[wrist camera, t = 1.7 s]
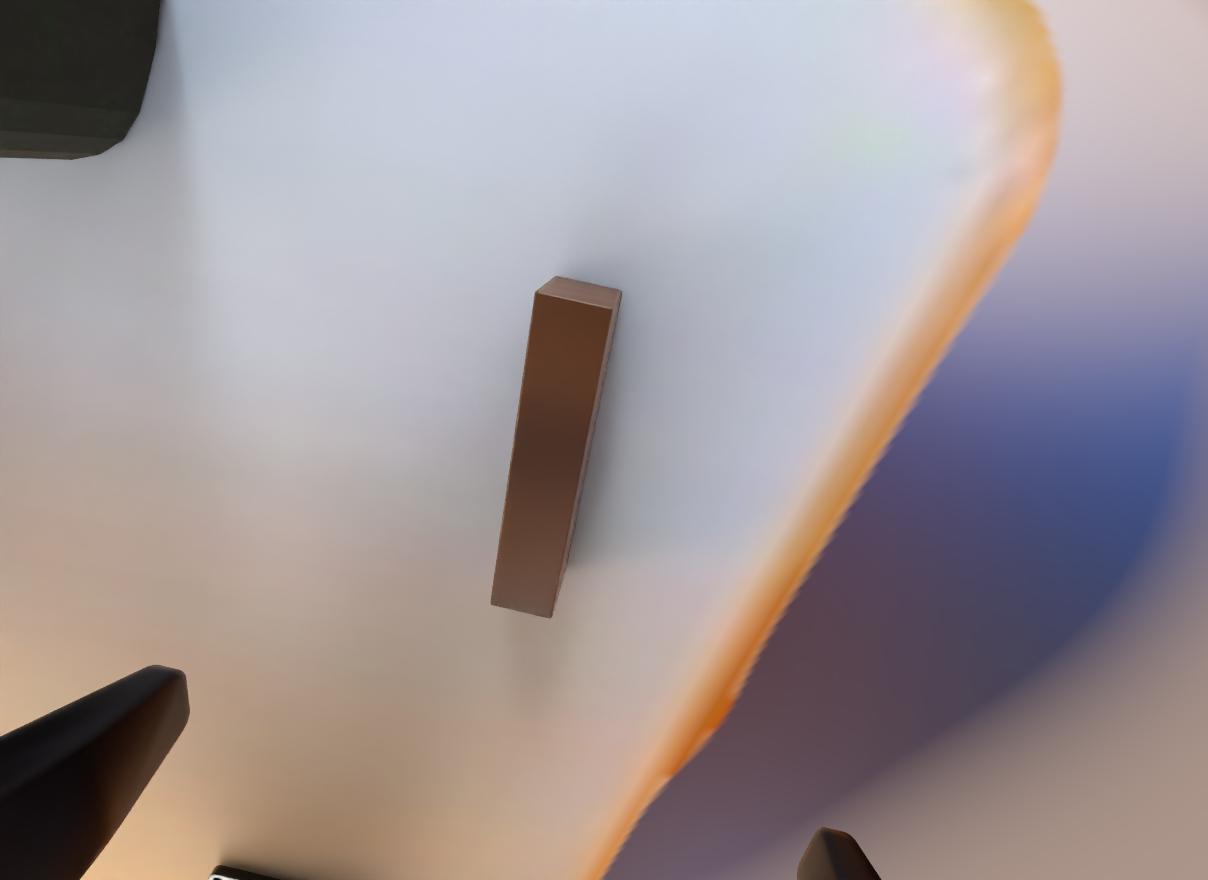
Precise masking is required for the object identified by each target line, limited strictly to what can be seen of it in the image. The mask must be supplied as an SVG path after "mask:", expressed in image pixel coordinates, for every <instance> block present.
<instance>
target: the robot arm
mask: <svg viewBox="0 0 1208 880" xmlns="http://www.w3.org/2000/svg"><path fill="white" fill-rule="evenodd" d="M189 713H190V707H189V698H188V689H187V680H186V675H185V674H184V673H183V671H181V670H178V669H174V668H170V667H166V666H162V665H152V666H148V667H146V668H143V669H141V670H139V671H137V672H135V673H133V674H131V675H129V676H127V677H124V678H122V679H120V680H118V681H116V682H114V683H112V684H110V685H108V686H106V687H103V688H101V689H99V690H97V691H95V692H93V693H91V694H89V695H87V696H85V697H82V698H80V699H78V700H76V701H74V702H72V703H70V704H68V705H66V706H64V707H61V708H59V709H57V710H55V711H53V712H51V713H49V714H47V715H45V716H43V717H40V718H38V719H36V720H34V721H32V722H30V723H28V724H26V725H24V726H22V727H20V728H17V729H15V730H13V731H11V732H9V733H7V734H5V735H3V736H1V737H0V880H80V879H81V877H82V876H83V875H84V874H85V872H86V871H87V870H88V868H89V867H90V866H91V865H92V863H93V862H94V861H95V859H96V858H97V857H98V856H99V854H100V853H101V852H102V850H103V849H104V848H105V846H106V845H107V844H108V842H109V841H110V839H111V838H112V837H113V835H114V834H115V832H116V831H117V829H118V828H119V827H120V825H121V824H122V822H123V821H124V819H125V818H126V816H127V815H128V813H129V812H130V810H131V809H132V807H133V806H134V804H135V802H136V801H137V799H138V798H139V796H140V795H141V793H142V792H143V790H144V789H145V787H146V786H147V784H148V783H149V781H150V780H151V778H152V777H153V775H154V774H155V772H156V771H157V769H158V768H159V766H160V765H161V763H162V762H163V760H164V759H165V757H166V756H167V754H168V753H169V751H170V750H171V748H172V747H173V745H174V744H175V742H176V740H177V739H178V737H179V736H180V734H181V733H182V731H183V730H184V728H185V726H186V724H187V721H188V718H189ZM209 880H280V879H276V878H272V877H268V876H264V875H260V874H256V873H252V872H248V871H244V870H240V869H235V868H231V867H227V866H222V865H219V866H216V867H215V868H214V870H213V871H212V873H211V874H210V876H209ZM797 880H881V878H880V877H879V875H878V874H877V872H876V871H875V869H874V868H873V866H872V865H871V863H870V862H869V860H868V859H867V857H866V856H865V854H864V853H863V851H862V850H861V848H860V847H859V845H858V844H857V842H856V841H855V839H853V837H852V836H850V835H849V834H847V833H845V832H841V831H837V830H833V829H829V828H825V827H822V828H820V829H818V830H817V832H816V833H815V835H814V836H813V838H812V840H811V842H810V844H809V846H808V848H807V850H806V851H805V853H804V855H803V857H802V859H801V861H800V863H799V867H798V873H797Z"/></svg>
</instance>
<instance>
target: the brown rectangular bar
mask: <svg viewBox="0 0 1208 880" xmlns="http://www.w3.org/2000/svg"><path fill="white" fill-rule="evenodd" d="M621 294H622V291H621V290H618V289H614V288H609V287H604V286H600V285H595V284H591V283H586V282H581V281H577V280H572V279H568V278H563V277H558V276H555V277H554V278H552V279H551V280H550V281H548V282H547V283H546V284H545V285H543V286H542V287H541V288H540V289H538V290H537V291H536V292H535V297H534V303H533V310H532V317H531V324H530V331H529V338H528V345H527V352H526V359H525V366H524V373H523V380H522V387H521V394H520V401H519V408H518V415H517V421H516V428H515V435H514V442H513V449H512V456H511V463H510V470H509V477H508V484H507V491H506V498H505V505H504V512H503V519H502V526H501V533H500V539H499V546H498V553H497V560H496V567H495V574H494V581H493V588H492V595H491V602H490V603H491V605H494V606H499V607H503V608H507V609H512V610H516V611H520V612H524V613H529V614H533V615H537V616H542V617H546V618H551V617H552V615H553V611H554V608H555V604H556V601H557V598H558V594H559V591H560V587H561V584H562V580H563V577H564V573H565V570H566V565H567V560H568V555H569V550H570V546H571V541H572V536H573V531H574V526H575V521H576V516H577V511H578V506H579V501H580V496H581V491H582V486H583V482H584V477H585V472H586V467H587V462H588V457H589V452H590V447H591V442H592V437H593V432H594V427H595V422H596V418H597V413H598V408H599V403H600V398H601V393H602V388H603V383H604V378H605V373H606V368H607V363H608V358H609V354H610V349H611V344H612V339H613V334H614V329H615V324H616V319H617V314H618V309H619V304H620V299H621Z"/></svg>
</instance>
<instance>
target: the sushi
mask: <svg viewBox="0 0 1208 880" xmlns="http://www.w3.org/2000/svg"><path fill="white" fill-rule="evenodd" d="M159 2H160V0H0V157H4V158H36V159H69V160H73V159H78V158H83V157H88V156H93V155H98V154H101V153H103V152H104V151H106V150H107V149H109V148H111V147H112V146H114V145H115V144H117V143H118V142H120V141H122V140H123V139H124V137H125V135H126V134H127V132H128V130H129V129H130V127H131V125H132V124H133V122H134V121H135V119H136V117H137V116H138V114H139V111H140V107H141V103H142V99H143V95H144V91H145V87H146V83H147V79H148V75H149V71H150V67H151V63H152V59H153V55H154V52H155V47H156V36H157V24H158V13H159Z"/></svg>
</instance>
